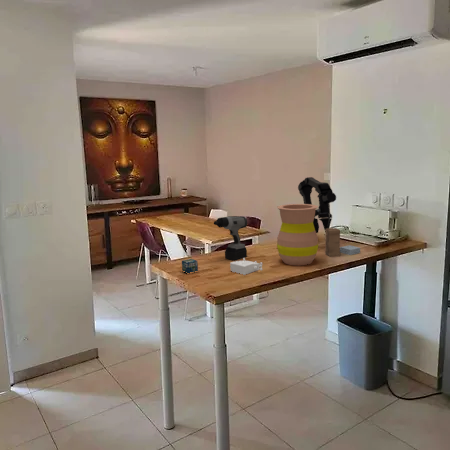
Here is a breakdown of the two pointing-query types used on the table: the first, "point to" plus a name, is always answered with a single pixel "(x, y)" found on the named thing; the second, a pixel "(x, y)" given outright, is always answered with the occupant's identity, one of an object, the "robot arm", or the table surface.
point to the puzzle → (189, 265)
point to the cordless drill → (233, 224)
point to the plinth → (350, 250)
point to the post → (332, 242)
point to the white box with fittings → (245, 266)
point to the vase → (297, 234)
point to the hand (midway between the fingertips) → (326, 230)
